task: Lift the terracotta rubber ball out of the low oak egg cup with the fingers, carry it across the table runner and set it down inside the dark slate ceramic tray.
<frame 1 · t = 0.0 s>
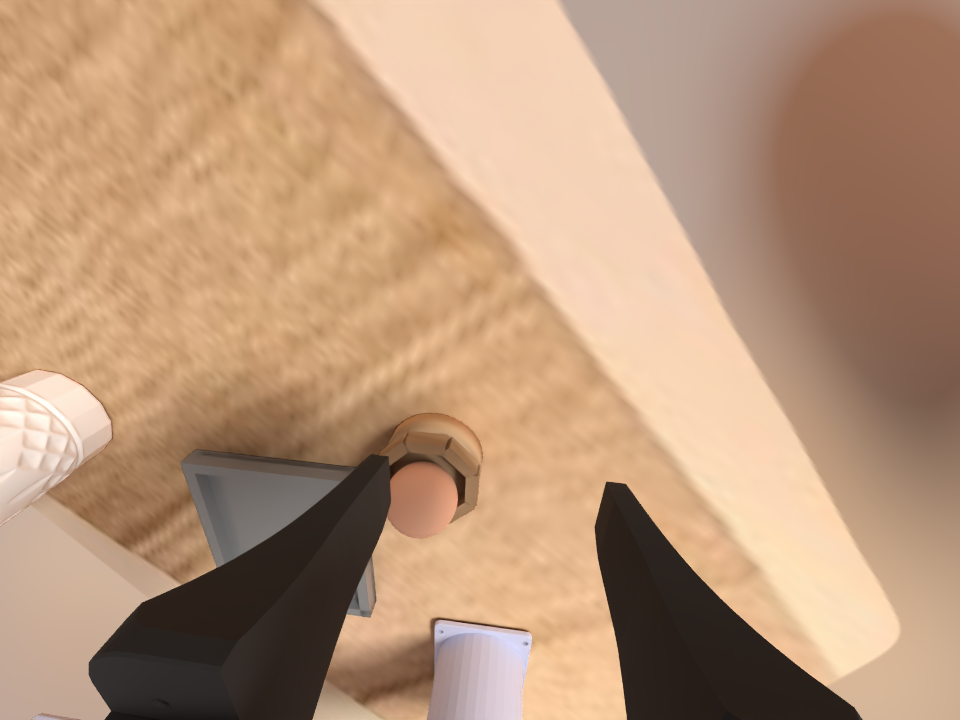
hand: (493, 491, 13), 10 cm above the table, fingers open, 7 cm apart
tray: (293, 531, 30), on the table
white cup: (69, 410, 28), on the table
egg cup: (436, 452, 26), on the table
ball: (429, 473, 24), point 2 cm above the table, touching egg cup
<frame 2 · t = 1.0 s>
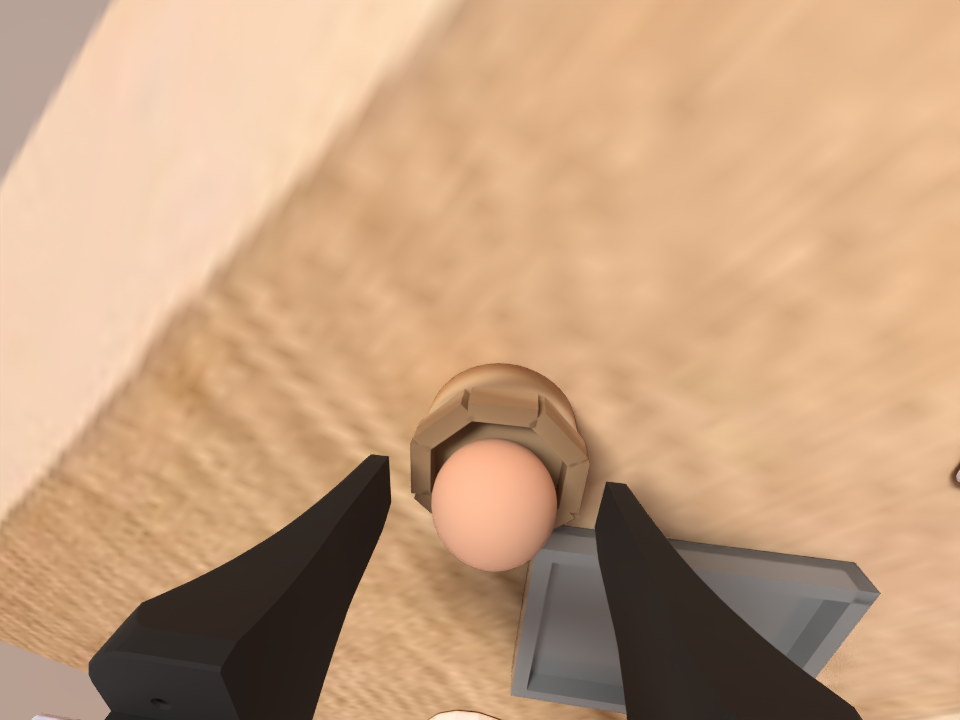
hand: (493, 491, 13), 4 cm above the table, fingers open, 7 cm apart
tray: (657, 623, 20), on the table
egg cup: (501, 428, 16), on the table
ball: (497, 460, 15), point 2 cm above the table, touching egg cup
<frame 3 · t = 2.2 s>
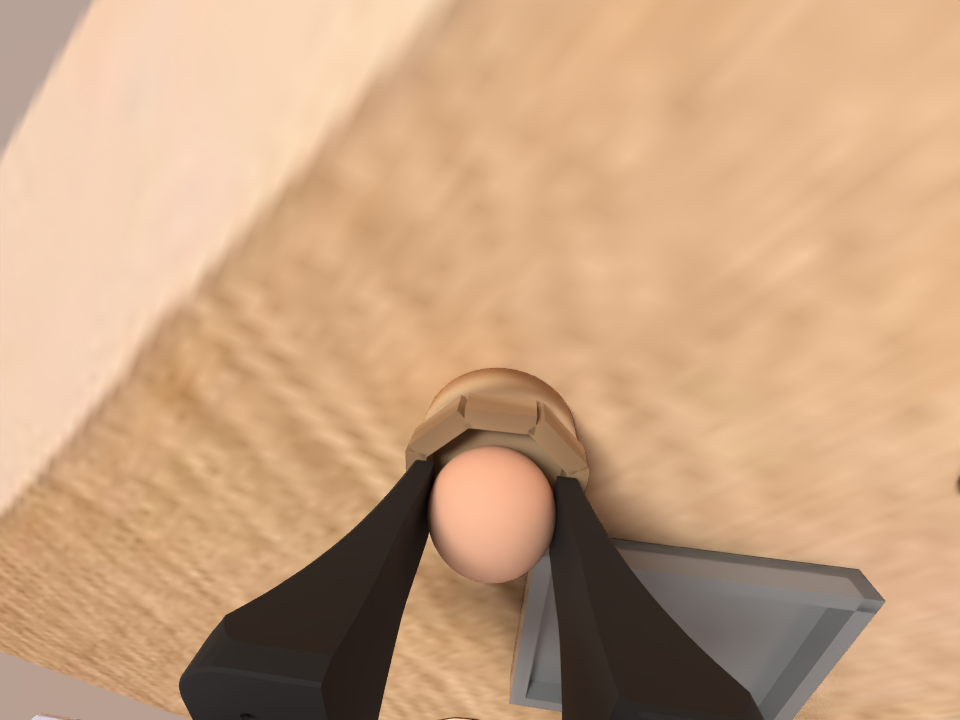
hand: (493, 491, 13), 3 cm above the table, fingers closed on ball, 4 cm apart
tray: (658, 630, 20), on the table
egg cup: (499, 434, 16), on the table
ball: (495, 467, 14), point 2 cm above the table, touching egg cup, gripper
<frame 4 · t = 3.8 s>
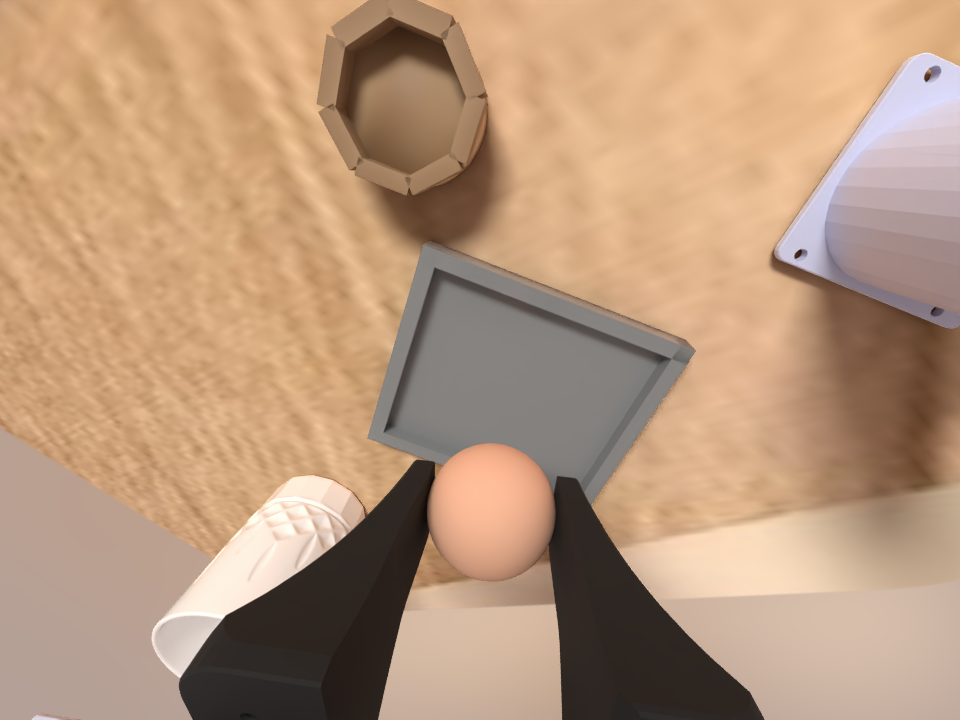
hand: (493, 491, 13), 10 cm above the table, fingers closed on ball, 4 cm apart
tray: (515, 386, 23), on the table
white cup: (322, 507, 29), on the table
egg cup: (419, 113, 17), on the table
ball: (494, 465, 14), point 9 cm above the table, touching gripper
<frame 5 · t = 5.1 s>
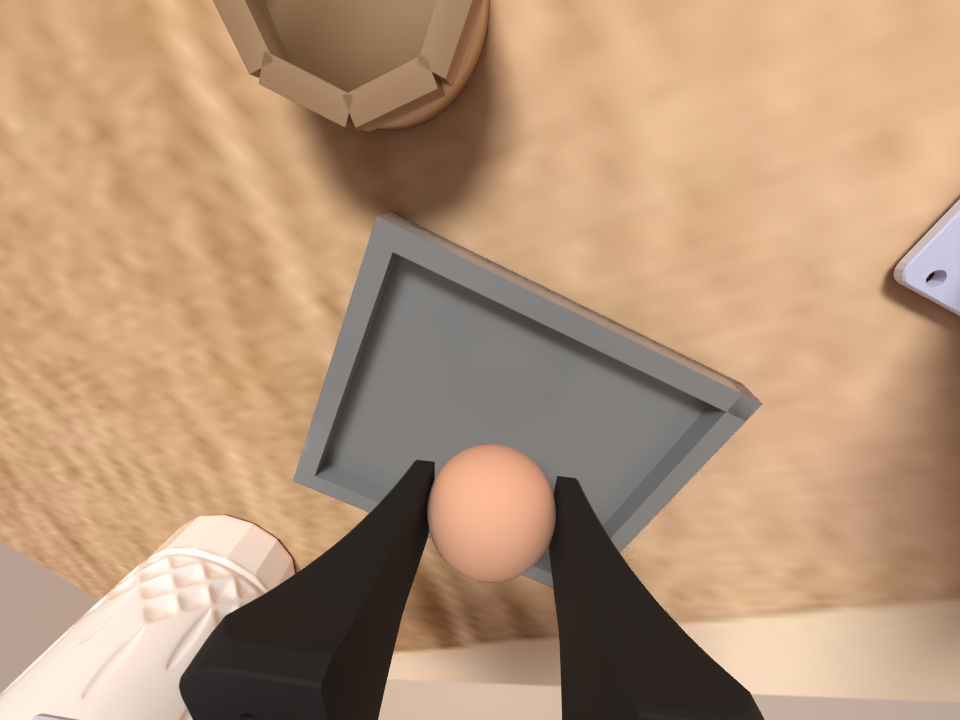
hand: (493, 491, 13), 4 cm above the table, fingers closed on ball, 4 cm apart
tray: (500, 426, 17), on the table
white cup: (240, 553, 22), on the table
egg cup: (381, 5, 11), on the table
ball: (495, 466, 14), point 3 cm above the table, touching gripper
when the fingers open (4 cm above the table, at t = 5.9 s): ball drops 2 cm, resting on tray.
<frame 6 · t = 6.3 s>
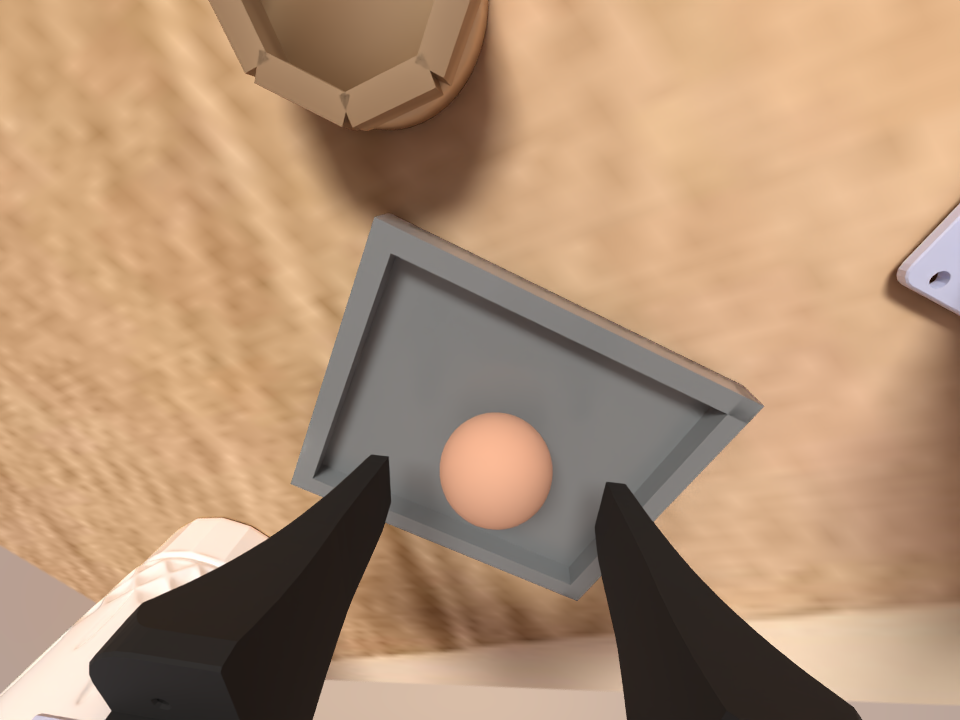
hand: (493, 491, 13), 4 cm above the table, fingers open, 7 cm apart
tray: (499, 428, 16), on the table
white cup: (238, 556, 22), on the table
egg cup: (379, 3, 11), on the table
ball: (498, 435, 16), resting on tray
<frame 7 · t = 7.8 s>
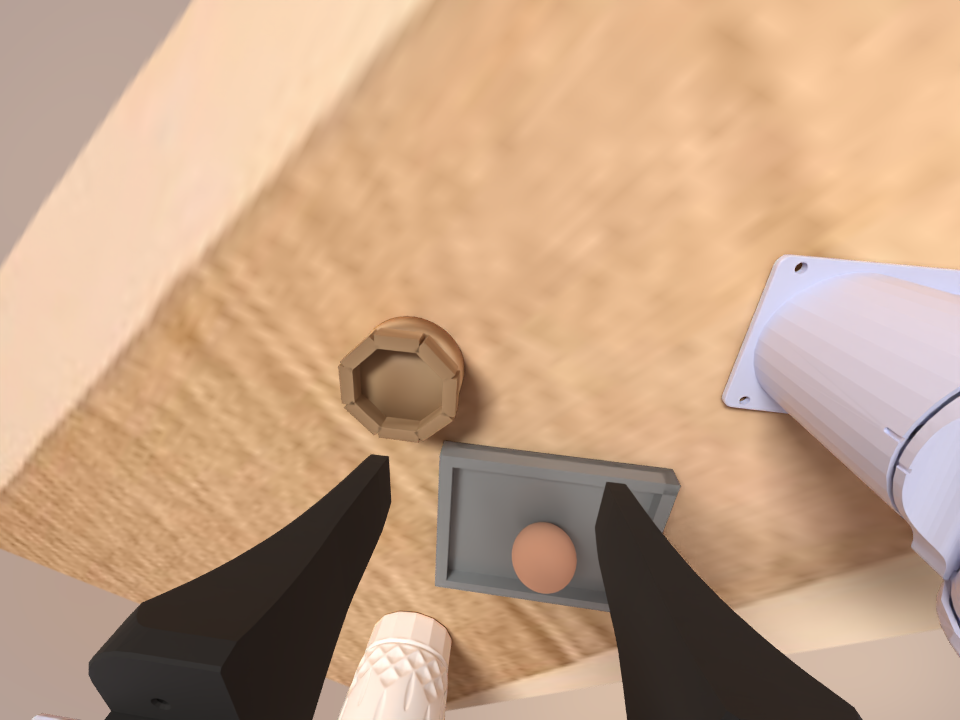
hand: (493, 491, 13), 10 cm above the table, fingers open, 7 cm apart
tray: (542, 524, 27), on the table
white cup: (413, 632, 34), on the table
egg cup: (412, 366, 23), on the table
ball: (542, 530, 27), resting on tray
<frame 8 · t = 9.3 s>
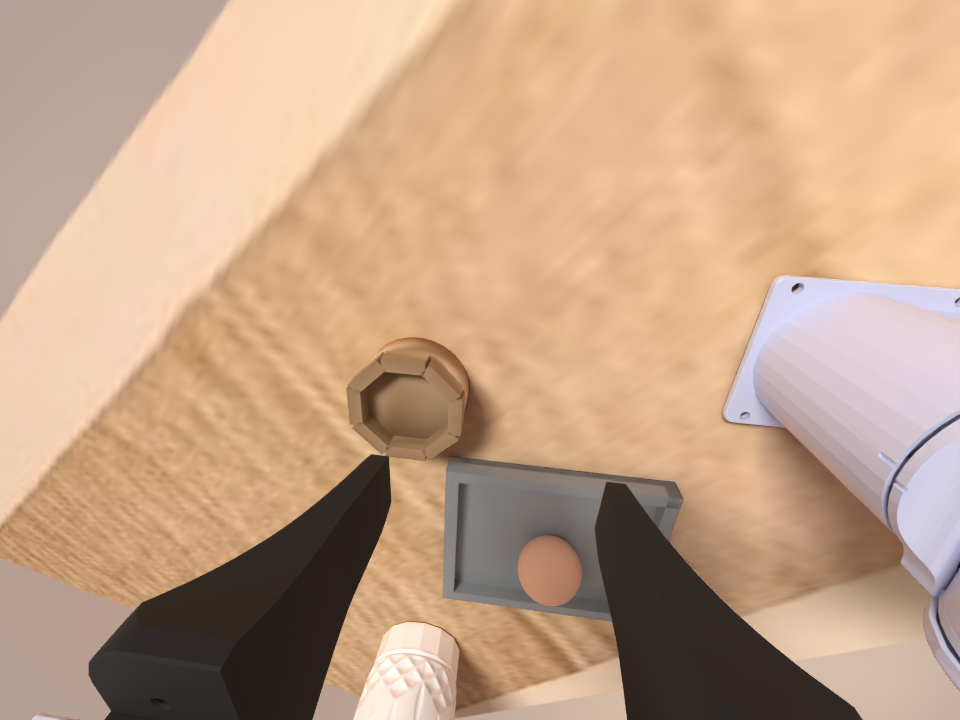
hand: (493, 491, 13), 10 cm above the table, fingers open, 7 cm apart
tray: (547, 536, 27), on the table
white cup: (422, 642, 35), on the table
egg cup: (418, 384, 23), on the table
ball: (547, 542, 27), resting on tray
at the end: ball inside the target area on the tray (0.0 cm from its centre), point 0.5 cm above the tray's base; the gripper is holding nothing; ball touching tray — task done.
